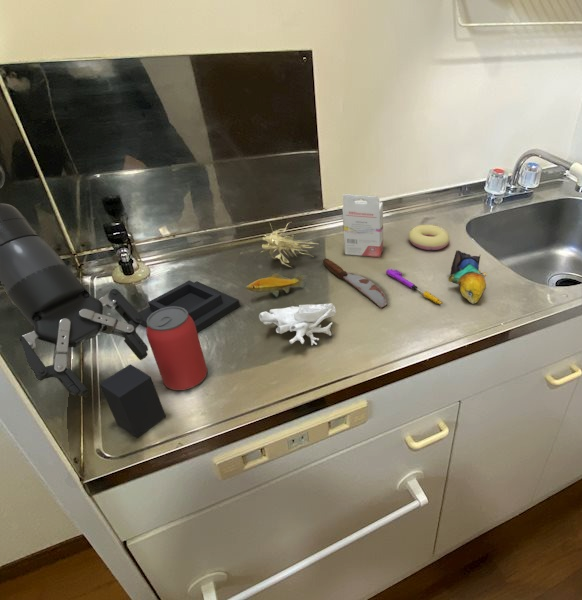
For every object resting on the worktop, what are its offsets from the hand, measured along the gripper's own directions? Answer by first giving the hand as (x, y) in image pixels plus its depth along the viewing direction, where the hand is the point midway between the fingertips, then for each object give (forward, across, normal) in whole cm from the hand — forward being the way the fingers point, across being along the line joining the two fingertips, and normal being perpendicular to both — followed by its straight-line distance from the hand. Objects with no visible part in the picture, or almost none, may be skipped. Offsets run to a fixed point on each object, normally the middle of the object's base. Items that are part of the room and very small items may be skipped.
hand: (116, 375), depth 64 cm
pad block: (+7, 0, +4) cm, 8 cm away
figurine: (+25, +58, -13) cm, 65 cm away
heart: (+11, +28, 0) cm, 30 cm away
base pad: (-4, +21, +15) cm, 26 cm away
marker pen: (+18, +52, -7) cm, 56 cm away
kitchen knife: (+10, +47, +1) cm, 48 cm away
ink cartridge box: (+6, +59, +6) cm, 60 cm away
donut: (+13, +72, -2) cm, 73 cm away
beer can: (+6, +9, +5) cm, 12 cm away
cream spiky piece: (-2, +46, +14) cm, 48 cm away
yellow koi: (+3, +35, +9) cm, 36 cm away
